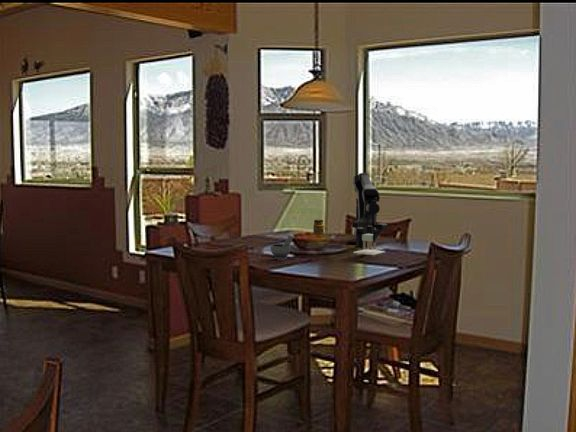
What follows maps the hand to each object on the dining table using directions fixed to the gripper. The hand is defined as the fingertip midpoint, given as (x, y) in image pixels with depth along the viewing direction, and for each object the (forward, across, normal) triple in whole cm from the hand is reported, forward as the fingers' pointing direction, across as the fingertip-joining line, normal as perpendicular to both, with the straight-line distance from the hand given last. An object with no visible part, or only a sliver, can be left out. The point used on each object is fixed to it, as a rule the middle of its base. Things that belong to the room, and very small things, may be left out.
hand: (369, 242), depth 360 cm
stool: (+4, 0, 0) cm, 4 cm away
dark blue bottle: (+6, -28, +39) cm, 48 cm away
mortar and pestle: (+6, -22, -44) cm, 50 cm away
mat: (+6, 0, 0) cm, 6 cm away
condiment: (+6, -48, +18) cm, 52 cm away
